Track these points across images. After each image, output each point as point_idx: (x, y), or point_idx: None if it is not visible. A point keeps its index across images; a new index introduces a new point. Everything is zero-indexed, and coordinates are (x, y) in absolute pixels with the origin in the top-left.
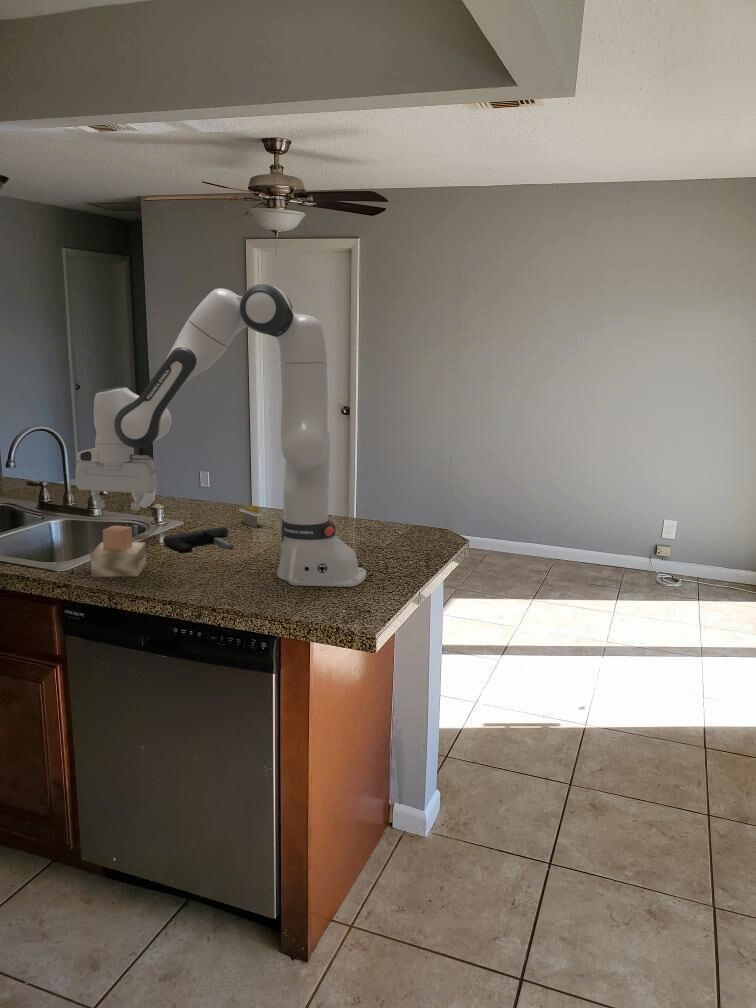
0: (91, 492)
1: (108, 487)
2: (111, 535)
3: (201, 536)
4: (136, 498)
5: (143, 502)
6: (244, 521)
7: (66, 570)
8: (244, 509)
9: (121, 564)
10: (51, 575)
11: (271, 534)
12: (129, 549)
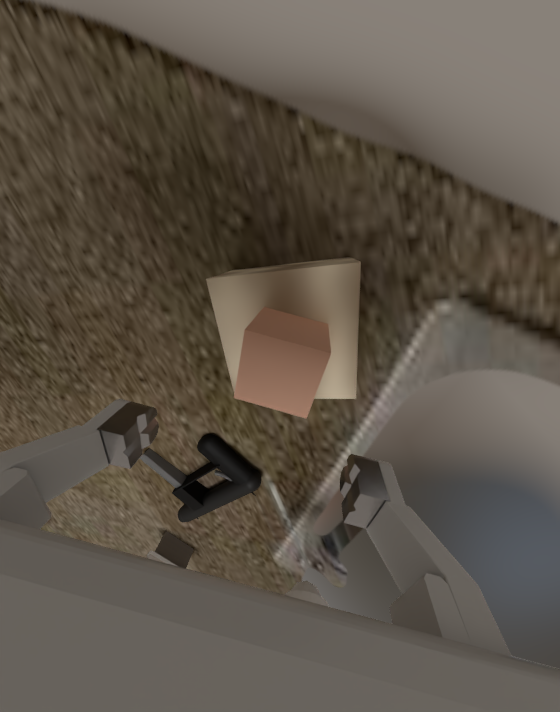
0: (484, 616)
1: (243, 671)
2: (292, 334)
3: (206, 495)
4: (28, 456)
5: (301, 594)
6: (189, 551)
7: (432, 307)
8: None
9: (262, 269)
10: (473, 254)
11: (131, 505)
12: None
